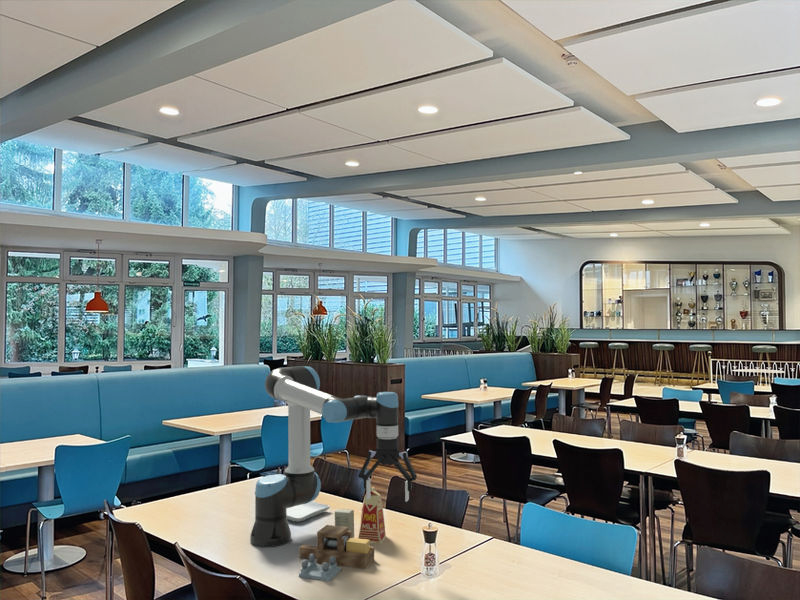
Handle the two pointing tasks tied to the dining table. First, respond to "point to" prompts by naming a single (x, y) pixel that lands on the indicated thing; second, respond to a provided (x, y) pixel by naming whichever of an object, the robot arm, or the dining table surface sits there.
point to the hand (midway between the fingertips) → (387, 499)
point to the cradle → (319, 569)
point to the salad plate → (305, 511)
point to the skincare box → (345, 519)
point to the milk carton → (372, 519)
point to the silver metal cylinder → (334, 542)
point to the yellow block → (358, 545)
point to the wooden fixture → (341, 556)
